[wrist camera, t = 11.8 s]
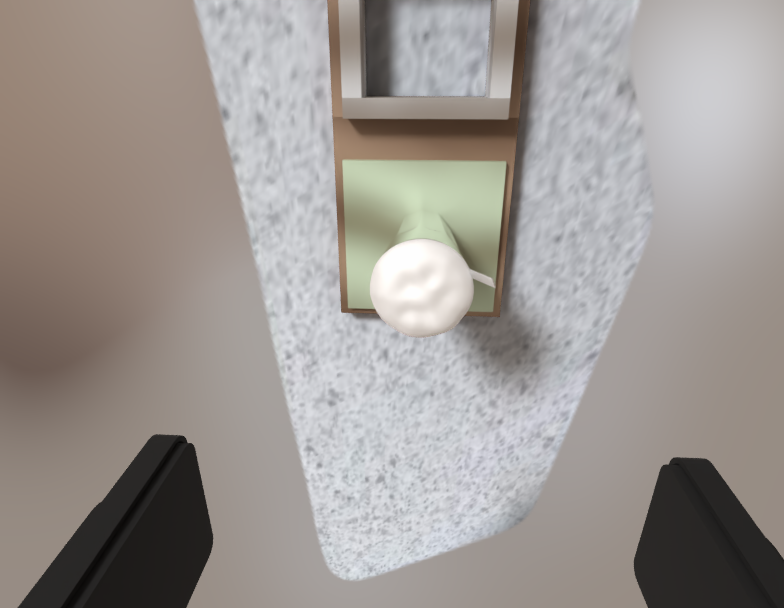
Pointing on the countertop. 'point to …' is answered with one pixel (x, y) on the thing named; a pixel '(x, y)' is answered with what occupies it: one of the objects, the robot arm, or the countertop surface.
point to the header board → (424, 156)
